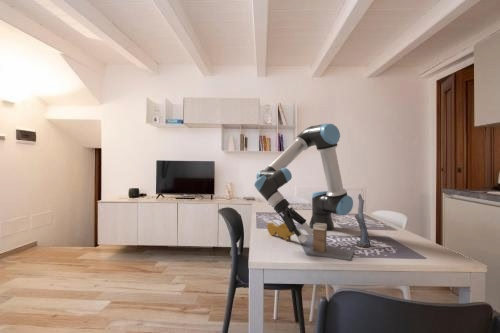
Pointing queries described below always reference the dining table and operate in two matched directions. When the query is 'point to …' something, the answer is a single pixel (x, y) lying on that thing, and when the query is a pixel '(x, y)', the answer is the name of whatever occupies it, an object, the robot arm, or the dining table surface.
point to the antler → (362, 225)
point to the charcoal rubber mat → (334, 253)
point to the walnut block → (319, 237)
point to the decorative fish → (279, 230)
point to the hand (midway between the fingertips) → (309, 237)
